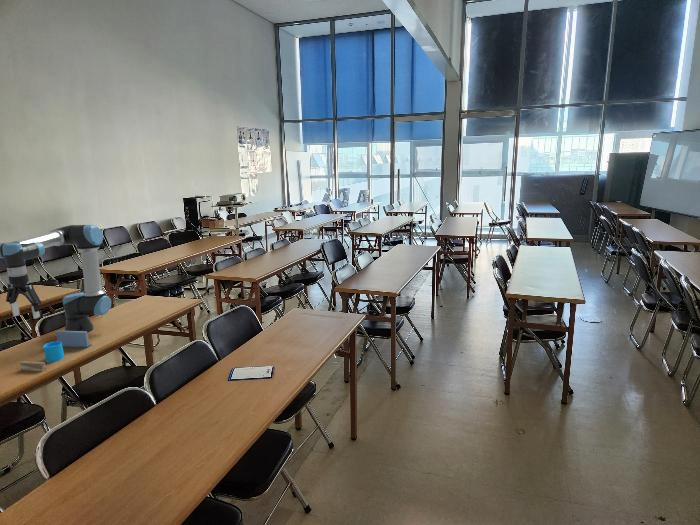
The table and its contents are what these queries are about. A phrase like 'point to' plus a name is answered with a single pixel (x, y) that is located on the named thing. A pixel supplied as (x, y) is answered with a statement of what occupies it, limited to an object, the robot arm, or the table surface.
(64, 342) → the screen
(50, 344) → the mug
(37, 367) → the block
